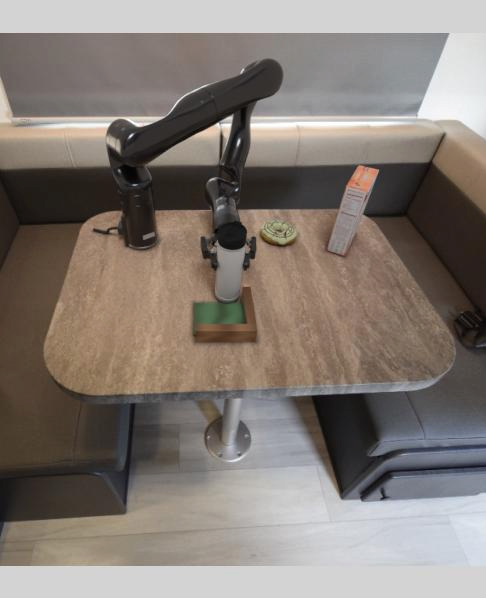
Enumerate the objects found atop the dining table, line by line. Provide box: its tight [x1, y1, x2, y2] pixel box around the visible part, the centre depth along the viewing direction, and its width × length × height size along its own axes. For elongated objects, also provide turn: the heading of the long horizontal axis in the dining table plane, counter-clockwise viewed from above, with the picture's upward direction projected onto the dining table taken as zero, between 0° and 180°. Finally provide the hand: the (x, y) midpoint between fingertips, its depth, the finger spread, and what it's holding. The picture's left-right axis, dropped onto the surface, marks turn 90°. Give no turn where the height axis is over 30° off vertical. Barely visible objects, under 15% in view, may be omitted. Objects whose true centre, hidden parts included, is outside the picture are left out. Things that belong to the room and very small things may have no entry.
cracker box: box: [325, 165, 380, 257], centre depth 99 cm, size 14×6×21 cm, turn 150°
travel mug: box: [214, 220, 248, 303], centre depth 82 cm, size 6×7×20 cm
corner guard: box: [192, 286, 258, 343], centre depth 82 cm, size 14×14×4 cm
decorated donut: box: [260, 219, 298, 247], centre depth 106 cm, size 10×11×4 cm
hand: (230, 267), depth 79 cm, fingers closed on travel mug, 6 cm apart
